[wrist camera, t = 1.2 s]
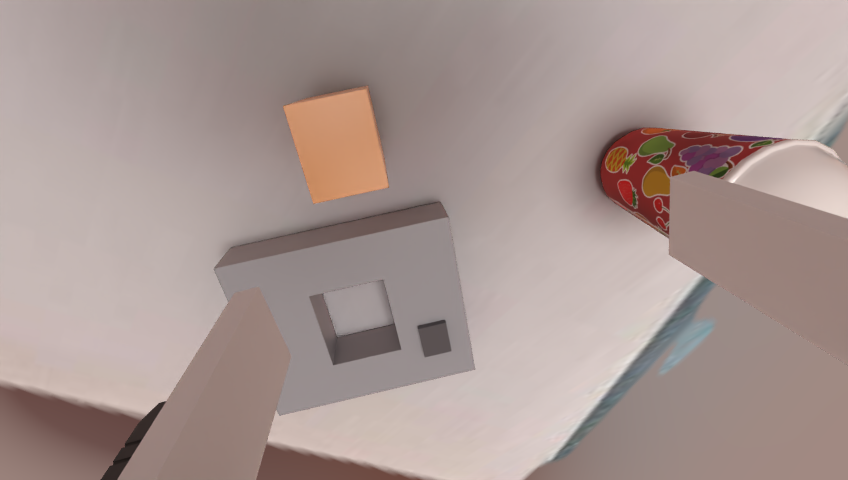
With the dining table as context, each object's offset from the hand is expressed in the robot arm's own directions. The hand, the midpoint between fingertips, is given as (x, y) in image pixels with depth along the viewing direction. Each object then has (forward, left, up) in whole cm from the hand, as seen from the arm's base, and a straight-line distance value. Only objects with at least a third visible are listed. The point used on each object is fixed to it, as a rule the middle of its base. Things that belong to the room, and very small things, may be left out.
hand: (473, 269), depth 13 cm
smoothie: (+5, +19, -22) cm, 29 cm away
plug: (-3, -4, -21) cm, 22 cm away
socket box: (+12, -7, -21) cm, 26 cm away
